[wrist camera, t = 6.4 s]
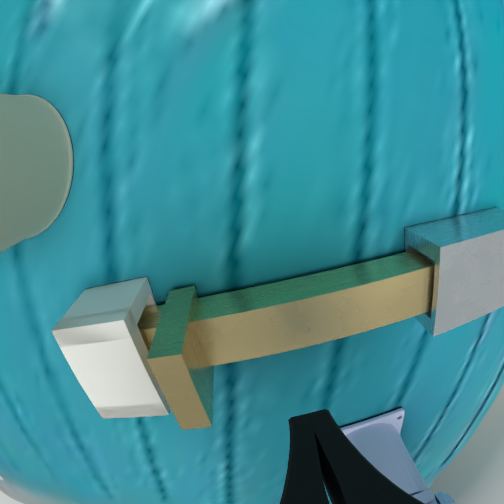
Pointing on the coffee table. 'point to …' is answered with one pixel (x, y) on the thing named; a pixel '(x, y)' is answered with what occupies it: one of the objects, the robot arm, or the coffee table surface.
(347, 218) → the coffee table surface
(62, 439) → the coffee table surface
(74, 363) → the socket
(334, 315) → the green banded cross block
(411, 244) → the sleeve
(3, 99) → the can
